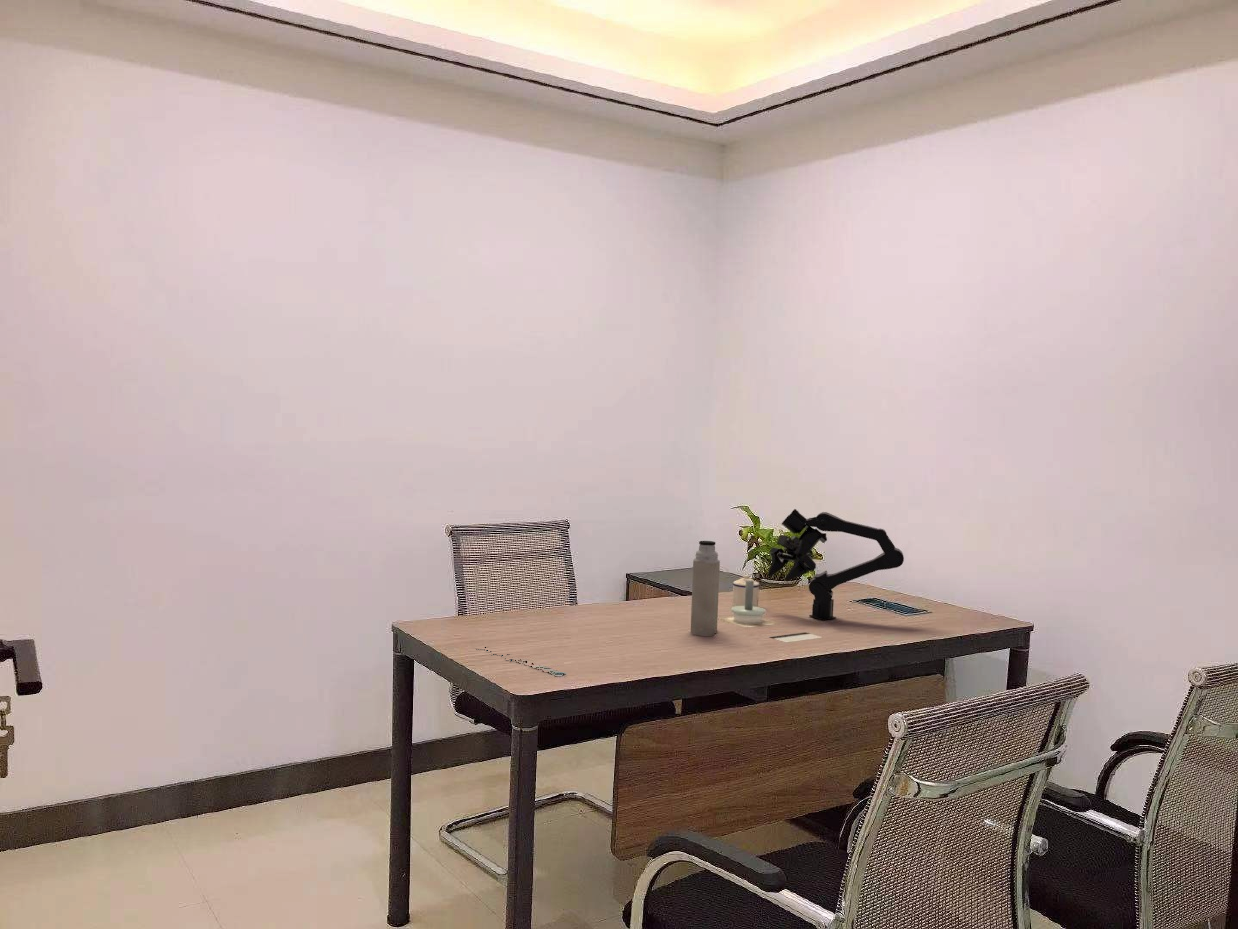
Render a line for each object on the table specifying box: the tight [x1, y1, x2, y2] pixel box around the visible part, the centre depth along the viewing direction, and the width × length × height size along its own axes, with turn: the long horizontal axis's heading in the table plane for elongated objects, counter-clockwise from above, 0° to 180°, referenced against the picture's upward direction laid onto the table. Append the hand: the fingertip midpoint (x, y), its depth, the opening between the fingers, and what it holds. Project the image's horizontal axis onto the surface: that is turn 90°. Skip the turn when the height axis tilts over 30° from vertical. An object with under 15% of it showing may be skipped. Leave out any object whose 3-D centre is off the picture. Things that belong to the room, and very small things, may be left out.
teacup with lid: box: [732, 574, 760, 607], centre depth 351 cm, size 12×9×12 cm
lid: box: [730, 580, 767, 615], centre depth 324 cm, size 11×11×10 cm
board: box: [717, 616, 780, 629], centre depth 325 cm, size 14×14×1 cm
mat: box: [768, 632, 823, 643], centre depth 310 cm, size 15×15×1 cm
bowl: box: [733, 613, 764, 624], centre depth 325 cm, size 9×9×3 cm
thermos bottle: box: [690, 540, 721, 637], centre depth 309 cm, size 8×8×28 cm
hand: (776, 578), depth 333 cm, fingers open, 9 cm apart
